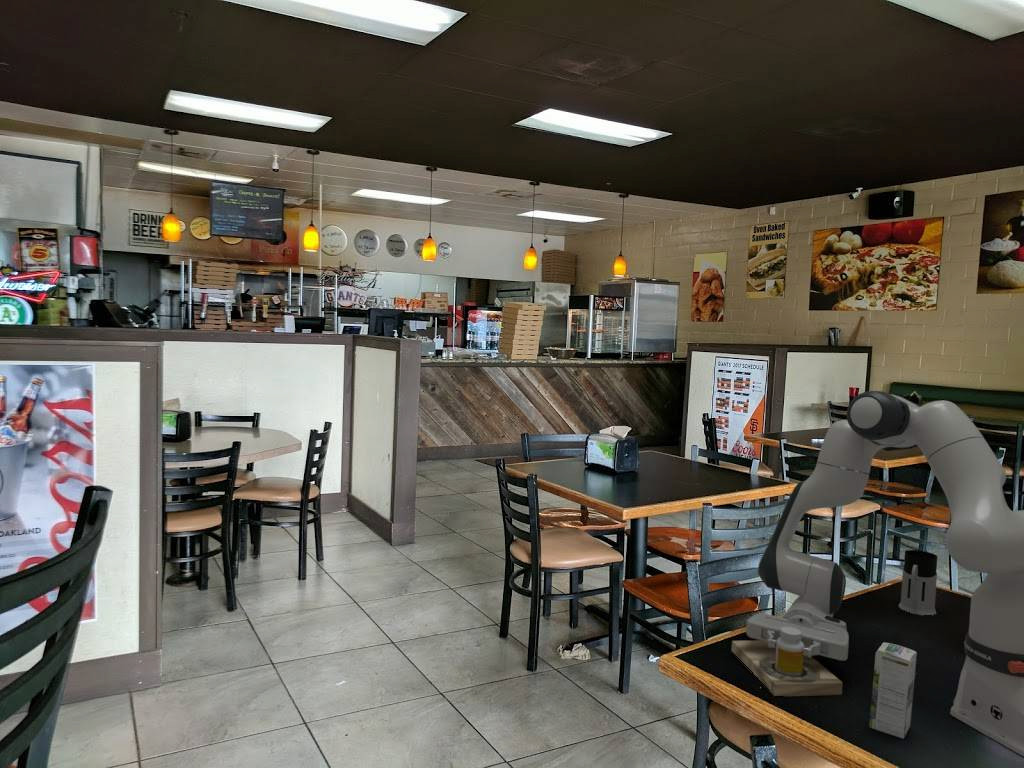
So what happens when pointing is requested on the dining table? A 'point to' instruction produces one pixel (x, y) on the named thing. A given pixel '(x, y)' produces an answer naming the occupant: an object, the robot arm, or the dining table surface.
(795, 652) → the supplement bottle
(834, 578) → the robot arm
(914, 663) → the syrup box
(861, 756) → the dining table surface
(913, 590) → the glass holder
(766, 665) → the plate
